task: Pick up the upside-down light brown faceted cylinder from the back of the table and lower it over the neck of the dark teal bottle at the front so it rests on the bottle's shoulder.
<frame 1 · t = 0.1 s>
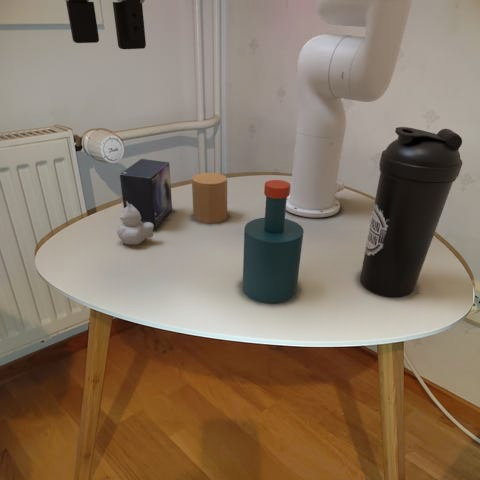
hand: (108, 45, 48), 31 cm above the table, tool pointing down, fingers open, 9 cm apart
rubber duck: (137, 243, 77), on the table
small box: (150, 220, 85), on the table
light brown faceted cylinder: (210, 216, 87), on the table
teal bottle: (269, 288, 65), on the table
water bottle: (386, 284, 68), on the table
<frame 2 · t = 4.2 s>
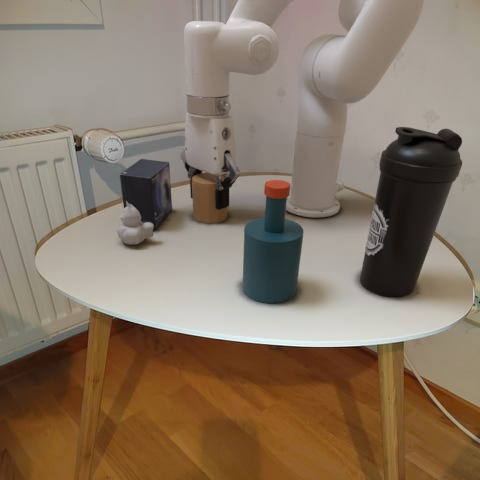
hand: (209, 201, 85), 3 cm above the table, tool pointing down, fingers closed on light brown faceted cylinder, 6 cm apart
light brown faceted cylinder: (210, 216, 87), on the table, touching gripper
everything else where it was.
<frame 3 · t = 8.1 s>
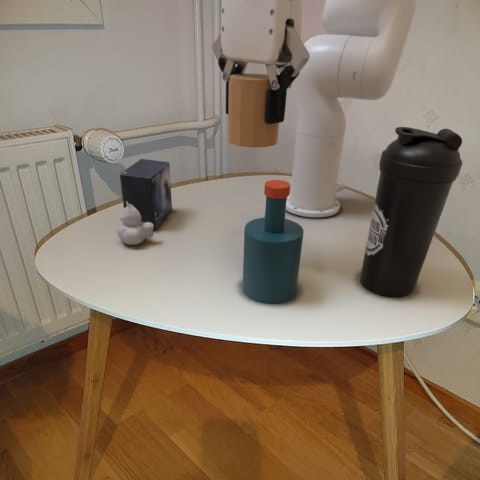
hand: (254, 116, 58), 23 cm above the table, tool pointing down, fingers closed on light brown faceted cylinder, 6 cm apart
light brown faceted cylinder: (252, 141, 59), point 20 cm above the table, touching gripper
everything else where it was.
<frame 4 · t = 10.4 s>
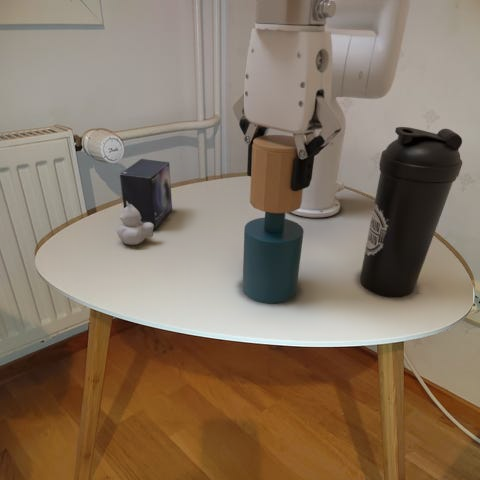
hand: (277, 180, 55), 17 cm above the table, tool pointing down, fingers closed on light brown faceted cylinder, 6 cm apart
light brown faceted cylinder: (275, 203, 57), point 14 cm above the table, touching gripper
everything else where it was.
when the fingers open (13 cm above the table, at t = 12.1 s): light brown faceted cylinder stays where it is, resting on teal bottle.
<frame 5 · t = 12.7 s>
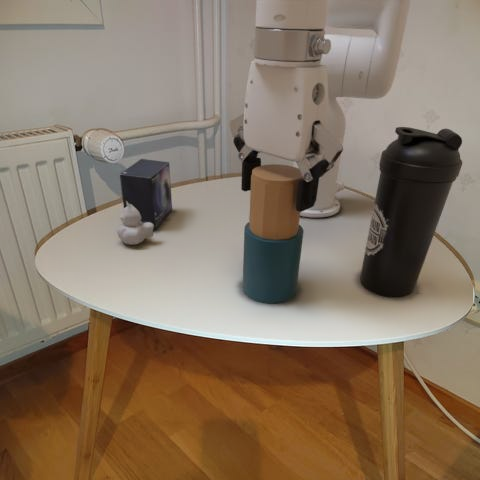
hand: (276, 198, 57), 14 cm above the table, tool pointing down, fingers open, 9 cm apart
light brown faceted cylinder: (273, 229, 59), point 10 cm above the table, touching teal bottle
everything else where it was.
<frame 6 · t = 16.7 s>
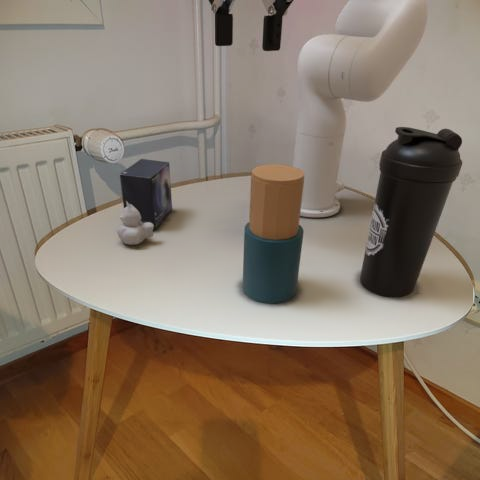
hand: (246, 48, 62), 30 cm above the table, tool pointing down, fingers open, 9 cm apart
nothing on the table moved.
at the end: light brown faceted cylinder 0.1 cm off-centre on the teal bottle, point 10.0 cm above the teal bottle's base; light brown faceted cylinder tilted 0°; the gripper is holding nothing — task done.
